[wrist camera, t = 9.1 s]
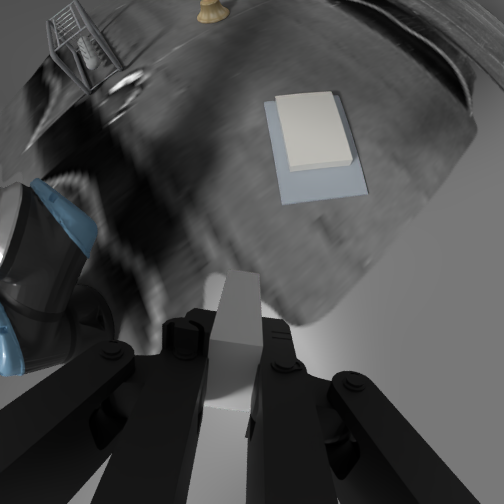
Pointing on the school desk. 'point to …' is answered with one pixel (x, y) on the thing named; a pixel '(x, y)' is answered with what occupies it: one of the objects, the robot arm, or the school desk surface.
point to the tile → (312, 131)
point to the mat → (315, 180)
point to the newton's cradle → (81, 47)
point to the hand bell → (212, 11)
